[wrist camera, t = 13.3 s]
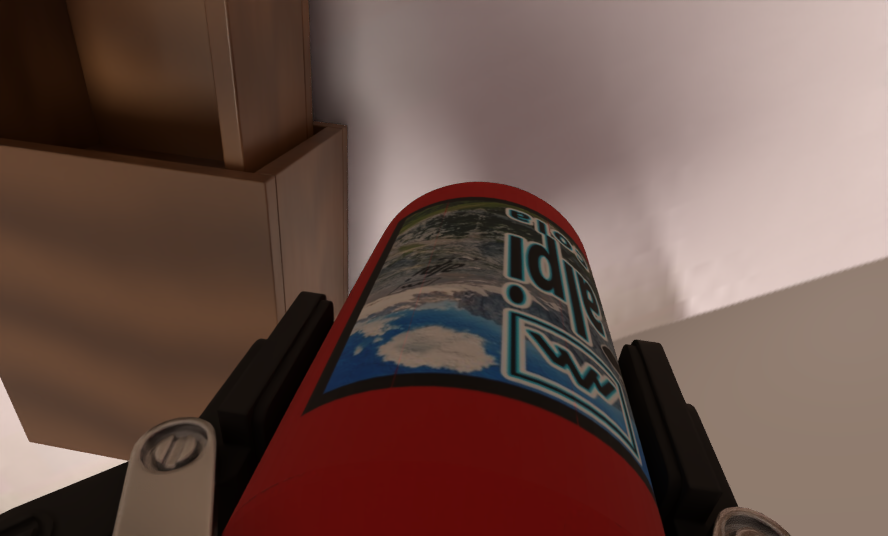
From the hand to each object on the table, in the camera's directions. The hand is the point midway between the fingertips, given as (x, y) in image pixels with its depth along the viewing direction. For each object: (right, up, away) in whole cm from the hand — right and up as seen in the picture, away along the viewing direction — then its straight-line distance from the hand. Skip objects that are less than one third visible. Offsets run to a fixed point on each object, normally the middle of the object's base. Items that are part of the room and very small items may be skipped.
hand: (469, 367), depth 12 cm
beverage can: (+1, +2, +4) cm, 5 cm away
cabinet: (-13, +4, +17) cm, 22 cm away
